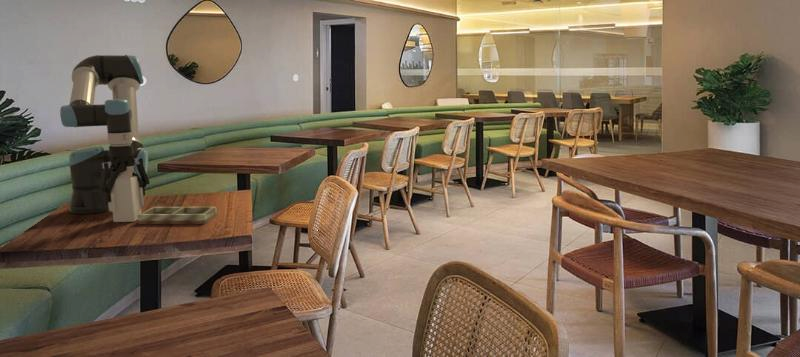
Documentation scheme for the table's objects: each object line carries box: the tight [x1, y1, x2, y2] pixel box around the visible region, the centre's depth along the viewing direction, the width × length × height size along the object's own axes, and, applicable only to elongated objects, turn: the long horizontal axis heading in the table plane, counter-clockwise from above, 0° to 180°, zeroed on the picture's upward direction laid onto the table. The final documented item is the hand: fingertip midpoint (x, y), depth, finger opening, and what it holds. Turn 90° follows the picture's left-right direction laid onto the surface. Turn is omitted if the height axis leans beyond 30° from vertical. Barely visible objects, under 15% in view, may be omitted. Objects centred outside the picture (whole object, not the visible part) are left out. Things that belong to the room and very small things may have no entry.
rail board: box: [137, 206, 218, 225], centre depth 209 cm, size 23×12×3 cm, turn 88°
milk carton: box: [109, 166, 142, 223], centre depth 208 cm, size 7×7×19 cm
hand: (126, 208), depth 209 cm, fingers closed on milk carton, 10 cm apart
